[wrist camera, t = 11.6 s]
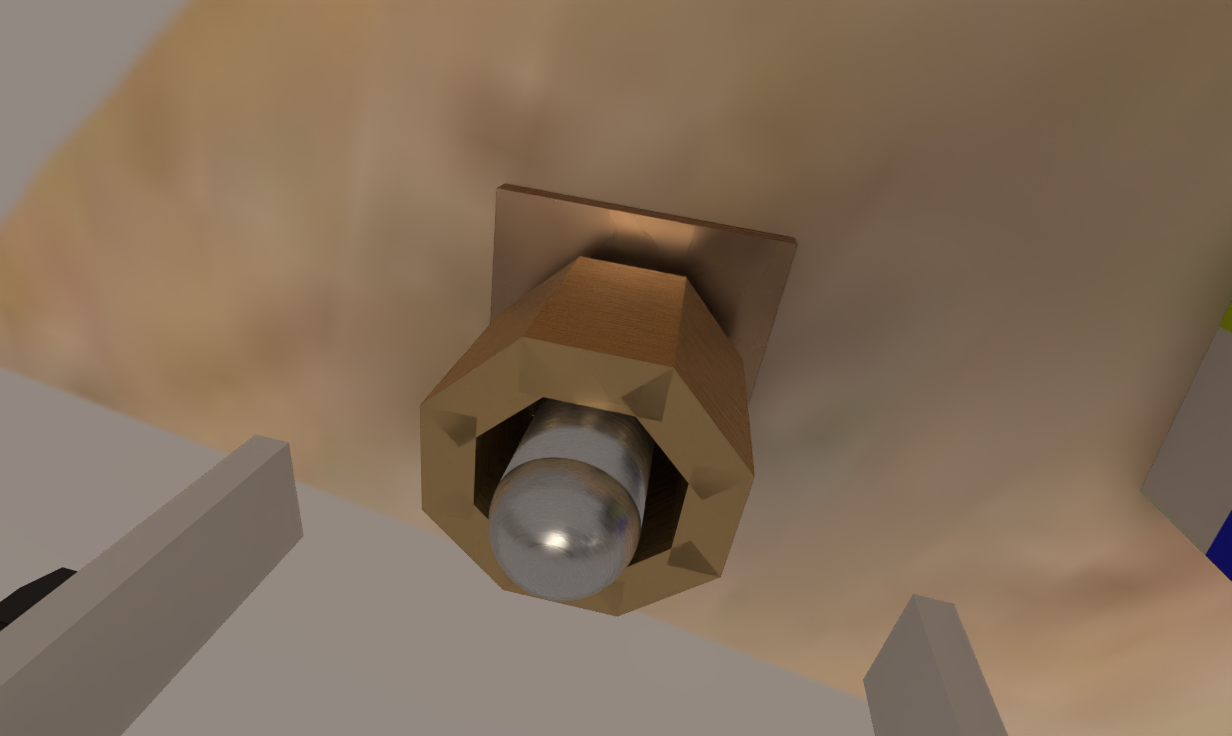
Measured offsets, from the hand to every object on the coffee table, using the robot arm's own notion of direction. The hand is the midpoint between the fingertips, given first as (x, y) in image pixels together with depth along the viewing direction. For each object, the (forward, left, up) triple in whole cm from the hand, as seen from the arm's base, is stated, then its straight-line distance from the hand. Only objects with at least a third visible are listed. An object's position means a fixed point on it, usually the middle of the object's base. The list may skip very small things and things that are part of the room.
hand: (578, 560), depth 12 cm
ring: (0, 0, -8) cm, 8 cm away
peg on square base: (0, -1, -11) cm, 11 cm away
